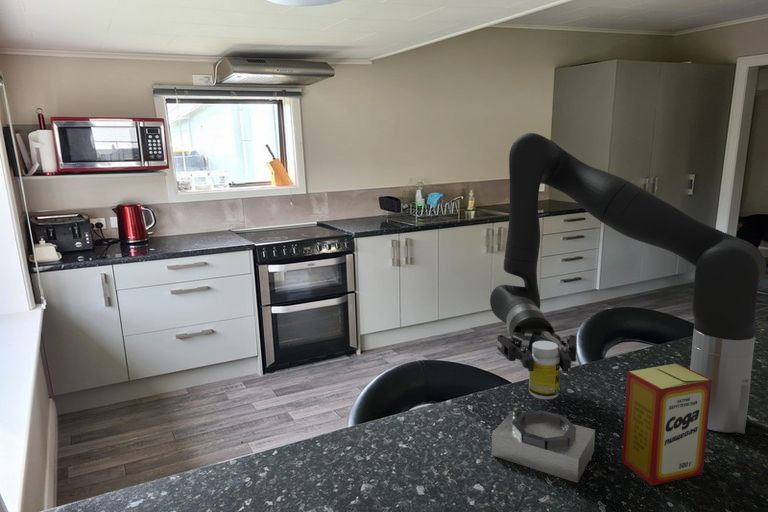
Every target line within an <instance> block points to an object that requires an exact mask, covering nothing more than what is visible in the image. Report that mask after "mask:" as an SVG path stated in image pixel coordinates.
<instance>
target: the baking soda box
mask: <svg viewBox="0 0 768 512" xmlns="http://www.w3.org/2000/svg"><path fill="white" fill-rule="evenodd" d="M711 385H712V379H709V378H707V377H705V376H703V375H701V374H699V373H697V372H694V371H692V370H690V368H688V367H686V366H683V365H682V364H680V363H676V362H675V363H670V364H666V365H659V366H658V365H657V366H653V367H647V368H642V369H641V368H640V369H636V370H630V371H629V370H628V371H627V377H626V392H625V405H624V406H625V407H624V422H623V439H622V453H621V455H622V457H621V463H623V464H624V465H625V466H627V467H628V468H629V469H630V470H631V471H633V472H634V473H635V474H637V476H639V477H641V478H642V479H643V480H645V482H647V483H648V484H649V485H651V486H652V487H654V486H656V485H661V484H666V483H669V482H673V481H678V480H681V479H686V478H687V479H688V478H690V477H694V476H695V477H696V476H698V475H703V474H704V465H705V454H706V444H707V433H708V429H707V426H708V415H709V405H710V395H711Z"/></svg>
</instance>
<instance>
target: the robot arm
mask: <svg viewBox="0 0 768 512" xmlns="http://www.w3.org/2000/svg"><path fill="white" fill-rule="evenodd" d="M508 170H509V171H508V172H509V174H508V175H509V176H508V177H509V212H508V213H509V214H508V227H507V237H506V244H505V253H504V260H503V270H504V271H505V273H508V274H509V275H512V276H516V277H519V278H520V279H522V280H523V283H524V286H520V285H519V286H518V285H510V284H500V285H497V286H496V287H495V288H494V289H493V290H492V292H491V294H490V298H489V299H490V300H489V305H490V309H491V311H492V313H493V315H494V316H495V317H496V318H497V319H498V320H500V321H501V322H503V323H505V324H506V328H507V333H508V335H509V337H506V336H505V335H503V334H498V335H497V341H496V342H497V345H496V346H497V350H498V352H499V353H500V354H502V356H504V357H505V358H506V359H507V360H508V361H510V362H515V361H516V360H519V362H520V363H521V365H522V368H524V369H527V371H528V372H529V371H533V366H534V360H533V357H532V354H533V353H532V345H533V343H534V342H537V341H550V342H554V343H556V344H557V345H558V355H557V356H558V357H559V358H560V370H561V371H562V372H564V373H565V372H568V371H569V369H571V368H572V363H575V362H577V350H578V349H577V348H578V346H577V345H578V342H577V341H578V336H576V335H574V334H572V335H571V334H570V335H569V337H566V338H561V336H560V335H559V334H557V333H555V330H554V327H553V325H552V324H551V322H550V321H549V319H548V318H547V317H546V315H545V314H544V312H543V311H542V310H541V296H540V291H539V283H538V274H537V273H538V270H537V269H538V262H539V254H540V247H541V225H540V216H539V215H540V214H539V195H540V194H539V193H540V187H541V184H544V185H546V186H549V187H550V188H553V189H555V190H556V191H559V192H561V193H563V194H565V195H567V196H568V197H569V198H571V200H573V201H574V202H576V204H578V205H579V207H581V208H582V209H583V210H585V211H586V212H587V213H588V214H589V215H591V216H592V217H593V218H595V219H596V220H598V221H600V223H602V224H604V225H605V226H607V227H608V228H611V229H612V230H614V231H615V232H618V233H620V234H621V235H624V236H626V237H628V238H630V239H632V240H636V241H638V242H642V243H644V244H647V245H651V246H655V247H657V248H661V249H663V250H666V251H669V252H670V253H673V254H675V255H677V257H678V256H679V257H681V258H682V259H684V260H685V261H687V262H688V263H690V264H692V266H695V271H694V281H693V291H692V292H693V295H692V296H693V297H692V314H693V317H694V322H693V332H692V334H693V335H692V343H691V356H690V367H689V369H690V370H692V371H694V372H697V373H699V374H701V375H703V376H705V377H707V378H709V379H712V385H711V395H710V405H709V415H708V426H707V430H710V431H714V432H720V433H738V434H739V433H740V434H746V433H745V432H746V424H747V417H748V410H749V409H748V406H749V399H750V392H751V391H750V390H751V382H752V381H751V377H752V366H753V359H754V358H753V357H754V351H755V350H754V349H755V341H756V334H757V333H756V332H757V324H758V322H757V318H756V308H757V299H758V289H759V283H760V282H761V280H762V279H763V278H764V276H765V274H766V270H767V263H766V259H765V256H764V255H763V253H762V252H761V251H760V249H759V248H758V247H756V246H755V245H754V244H752V243H750V242H749V241H746V240H744V239H743V238H739V237H737V236H734V235H731V234H729V233H726V232H725V231H722V230H720V229H717V228H714V227H713V226H710V225H707V224H705V223H703V222H701V221H699V220H697V219H695V218H693V217H691V216H689V215H688V214H687V213H685V212H683V211H682V210H680V209H678V207H677V208H676V206H674V205H672V204H670V203H669V202H667V201H665V200H663V199H661V198H659V197H658V196H656V195H654V194H653V193H651V192H649V191H648V190H646V189H644V188H642V187H640V186H638V185H636V184H635V183H633V182H630V181H628V180H627V179H624V178H622V177H620V176H618V175H615V174H613V173H610V172H607V171H605V170H602V169H598V168H596V167H593V166H591V165H588V164H586V163H584V162H583V161H581V160H580V159H578V158H577V157H575V156H573V155H572V154H571V153H570V152H568V151H566V150H565V149H564V148H562V147H561V146H559V145H558V144H557V143H556V142H555V141H552V139H549V138H547V137H545V136H543V135H541V134H539V133H535V132H528V133H524V134H522V135H520V136H519V137H517V138H516V139H515V140H514V142H513V143H512V145H511V146H510V150H509V155H508Z"/></svg>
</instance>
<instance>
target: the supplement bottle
mask: <svg viewBox="0 0 768 512" xmlns="http://www.w3.org/2000/svg"><path fill="white" fill-rule="evenodd" d="M532 353H533V354H532V357H533V360H534V366H533V371H528V373H529V375H528V392H529V393H530V395H531V396H532V397H534V398H536V399H540V400H553V399H555V398H557V397H558V396H559V394H560V371H561V367H560V358H559V357H558V356H557V355H558V345H557V344H556V343H554V342H550V341H537V342H534V343H533V345H532Z"/></svg>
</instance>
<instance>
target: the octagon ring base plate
mask: <svg viewBox="0 0 768 512" xmlns="http://www.w3.org/2000/svg"><path fill="white" fill-rule="evenodd" d="M595 438H596V429H592V428H590V427H585V426H582V425H578V424H574V423H572V422H571V421H570V419H568V418H567V417H566V416H564V415H563V414H559V413H553V412H550V411H545V410H541V409H540V410H533V411H524V410H523V407H521V406H514V407H512V411H510V413H509V414H508V415H507V416H506V417H505V419H503V420H502V422H501V423H499V425H498V426H497V427H496V428H495V429H494V430H493V432H491V456H493V457H496V458H499V459H502V460H504V461H508V462H511V463H515V464H517V465H520V466H523V467H527V468H529V467H530V469H532V470H536V471H539V472H543V473H545V474H548V475H551V476H554V477H557V478H561V479H564V480H566V481H567V480H568V481H570V482H573V483H576V484H578V483H579V481H580V479H581V477H582V476H583V474H584V471H585V470H586V468H587V466H588V464H589V462H590V460H591V458H592V456H593V454H594V452H595Z"/></svg>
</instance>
